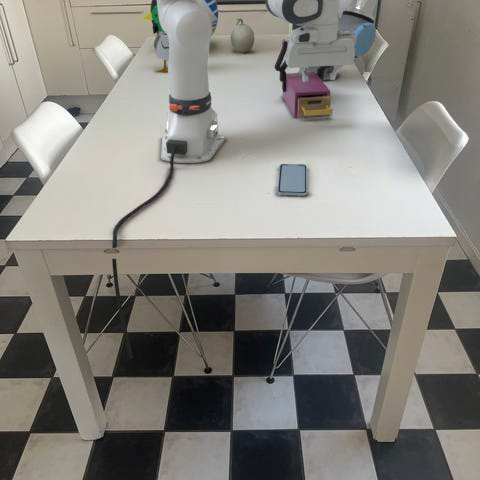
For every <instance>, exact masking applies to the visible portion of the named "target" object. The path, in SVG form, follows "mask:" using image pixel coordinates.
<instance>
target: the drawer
mask: <svg viewBox="0 0 480 480" xmlns="http://www.w3.org/2000/svg"><path fill="white" fill-rule="evenodd" d="M333 110H334V109H333V108H331V95H330V96H325V94H322V95H306V96H298V114H297V117H296V118H297V119H304V118H318V117H319V118H320V117H330V115H333V113H334V112H333Z"/></svg>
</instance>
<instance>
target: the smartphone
mask: <svg viewBox="0 0 480 480" xmlns="http://www.w3.org/2000/svg"><path fill="white" fill-rule="evenodd" d="M307 194H308V166H307V165H306V164H303V163H281V164H279V167H278V180H277V195H279V196H301V197H303V196H307Z"/></svg>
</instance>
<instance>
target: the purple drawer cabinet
mask: <svg viewBox="0 0 480 480" xmlns="http://www.w3.org/2000/svg"><path fill="white" fill-rule="evenodd" d="M304 73H305V74H307V75H308V76H309V78H308V82H303V80H302V76H303V75H302V73H299V72H289V73H287V72H286V92H283V91H282V99H283V100H284V102H285V103H286V106H287V107H288V109H289V111H290V112H291V115H292V116H293V118H296V119H297V118H298V117H297V114H298V96H306V95H322V94H325V96H330V97H331V90H330V89H329V87H328V86H327V85H326V84H325V82H324V81H322V80H321V79H320V77H319V76H318V75H317V74H316V72H304Z"/></svg>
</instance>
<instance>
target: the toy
mask: <svg viewBox="0 0 480 480" xmlns="http://www.w3.org/2000/svg"><path fill="white" fill-rule="evenodd" d="M141 17H142V18H143V20H149V21H151V20H154V22H155V23H158V26H157V27H156V26H153V25H152V33H153V34H155V35H156V36H155V39H154V41H153V47H154V50H155V51H154V52H155V54H156V58H158V59H161V60H163V68H161V69H158V70H156V72H159V73H165V72H166V73H167V72H168V64H167V61H169V39H168V36H167V34H166V33H165V32H164V30H163V29H162V27H161V25H160V22H159V15H158V7H157V5H156V6H155V7H154V8H153V10H152V12H149V13H147V14H144V15H142V16H141ZM157 30H159V32H158V34H157V33H156V32H157Z"/></svg>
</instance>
